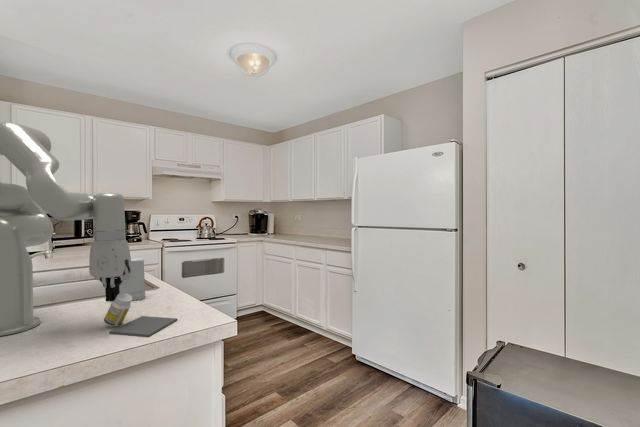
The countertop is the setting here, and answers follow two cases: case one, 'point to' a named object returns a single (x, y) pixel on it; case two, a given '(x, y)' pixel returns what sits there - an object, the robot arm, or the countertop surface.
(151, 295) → the countertop surface
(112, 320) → the supplement bottle
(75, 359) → the countertop surface
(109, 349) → the countertop surface
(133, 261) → the skincare box
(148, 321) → the mat
